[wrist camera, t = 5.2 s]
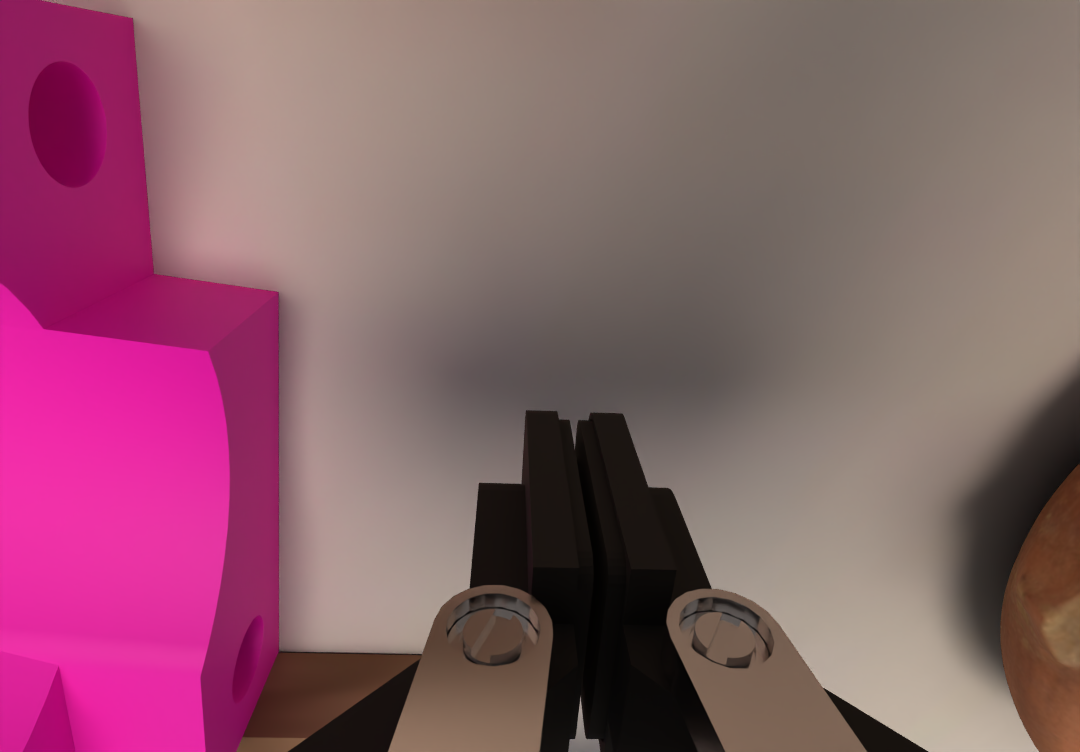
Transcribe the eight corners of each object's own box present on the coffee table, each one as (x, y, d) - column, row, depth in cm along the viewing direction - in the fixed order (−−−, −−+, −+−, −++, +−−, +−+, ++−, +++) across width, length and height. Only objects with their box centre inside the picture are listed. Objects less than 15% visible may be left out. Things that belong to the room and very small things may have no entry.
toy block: (281, 645, 18) (132, 997, 11) (42, 623, 17) (-279, 982, 10) (281, 45, 12) (-56, -24, 5) (-88, -22, 11) (-1088, -213, 4)
